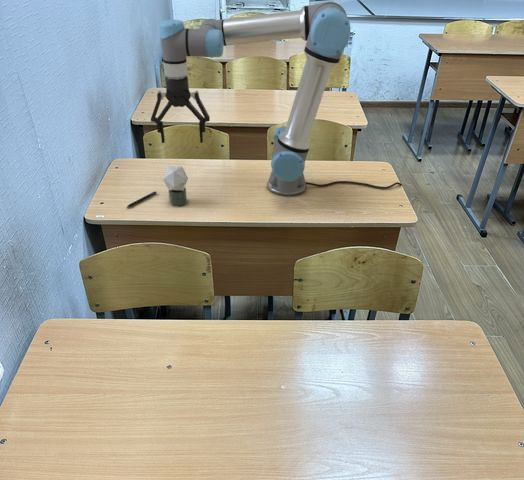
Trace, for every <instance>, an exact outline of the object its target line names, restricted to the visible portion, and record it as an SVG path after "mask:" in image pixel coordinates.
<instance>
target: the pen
mask: <svg viewBox="0 0 524 480" xmlns="http://www.w3.org/2000/svg"><path fill="white" fill-rule="evenodd" d="M156 194H157V191H152V192H150V193H148V194H147V195H145V196H142V197H141V198H139V199H137V200H135V201H133V202H131V203H129V204H128V205H127V206H126V208H132V207H133V206H136V205H138V204H140V203H142V202H143V201H145V200H146V199H148V198H151V197H152V196H154V195H156Z"/></svg>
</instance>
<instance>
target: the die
mask: <svg viewBox="0 0 524 480" xmlns="http://www.w3.org/2000/svg"><path fill="white" fill-rule="evenodd" d="M188 179H189V177H188V176H187V173H186V171H185V169H184V167H183V166H180V165H179V166H177V165H175V166H174V165H172V166H171V165H167V166H166V170H165V172H164V175H163V177H162V180H163V183H164V184H165V186H166V188H167V190H168V192H169V191H183V190H184V188H186V185H187V182H188Z"/></svg>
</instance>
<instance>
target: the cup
mask: <svg viewBox="0 0 524 480" xmlns="http://www.w3.org/2000/svg"><path fill="white" fill-rule="evenodd" d="M187 195H188V194H187V188H186V187H185V188H184V190H183V191H169V190H168V197H169V198H168V199H169V203H170V204H171V205H172V206H173V207H183V206H185V205H186V204H187V202H188V196H187Z"/></svg>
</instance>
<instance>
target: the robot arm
mask: <svg viewBox="0 0 524 480" xmlns="http://www.w3.org/2000/svg"><path fill="white" fill-rule="evenodd" d="M159 34H160V38H159V39H160V46H161V52H162V53H161V54H162V63H163V72H164V76H165V78H164V82H165V92H163V91H161V90H158V91H157V94H156V99H157V100H156V102H155V106H154V107H153V112H152V114H151V117H150V122H151V123H155V124H156V132H157V133H159V134H160V138H161V144H165V142H166V139H165V130H164V121H162V120H163V118H164V117H165V116H166V114H167V113H168V111H169V110H170V109H171V107H174V108H178V107H179V108H184V107H186V108H187V109H188V110H189V111H190V112H191V113H192V115H194V116H195V118H196V119H198V129H199V139H200V140H199V143H200V144H203V143H204V137H203V133H205V132H206V123H207V122H210V119H211V117H210V115H209V113H208V111H207V109H206V107H205V105H204V103H203V102H202V100H201V98H200V94H199V91H198V90H195V91H194V92H193V91H192V92H190V87H189V77H188V62H187V61H188V59H187V57H196V58H197V57H199V58H212V59H213V58H220V57H222V56H223V55H224V47H227V46H235V45H236V46H237V45H244V44H245V45H246V44H254V43H263V42H264V43H265V42H274V41H282V40H292V39H293V40H294V39H302V40H303V41H304V42H305V46H304V48H303V53H304V55H305V57H306V59H305V62H304V66H303V69H302V73H301V75H300V76H301V77H300V79H299V83H298V85H297V90H296V92H295V96H294V99H293V102H292V105H291V109H290V112H289V115H288V120H287V123H286V125H285V126H281V127H280V126H279V127H277V128H275V129H274V132H273V149H272V157H271V162H270V167H271V172H270V175H269V177H268V180H267V190H269V191H270V192H271V193H273V194H275V195H278V196H285V197H286V196H287V197H288V196H289V197H291V196H298V195H301V194H302V193H304V192H305V191H306V186H307V185H309V186H314V187H319V188H320V187H328V186H331V185H335V184H352V185H360V186H366V187H370V188H374V189H380V190H387V189H390V188H393V187H395V186H397V185H398V186H400V187H403V184H402V182H399V181H397V182H394V183H392V184H390V185H387V186H380V185H374V184H371V183H366V182H358V181H353V180H351V181H350V180H337V181H332V182H328V183H324V184H323V183H322V184H318V183H314V182H308V181H306V179H305V174H304V172H305V167H306V165H305V163H306V161H307V157H308V154H309V151H310V148H311V144H310V141H309V138H310V135H311V131H312V129H313V126H314V123H315V120H316V117H317V113H318V111H319V108H320V104H321V103H322V98H323V95H324V93H325V90H326V87H327V84H328V81H329V78H330V75H331V73H332V69H333V68H334V67H335V66H337V65H339V63H340V60H341V57H342V54H343V51H344V50H345V49H346V47H347V45H348V43H349V41H350V37H351V23H350V19H349V17H348V15H347V11H346V10H345V9H344V8H343V6H342V5H340V4H339V3H337V2H334V1H325V2H320V3H314V4H310V5H303V6H302V7H301V8H300V10H292V11H291V10H290V11H283V12H273V13H266V14H265V13H264V14H255V15H248V16H240V17H231V18H223V19H215V18H208V19H205V20H204V21H202V22H201V24H200V25H199V28H185V25H184V22H183V21H182V20H180V19H165V20H162V21H161V22H160V23H159ZM164 98H166V100H167V101H168V102H167V103H166V105H165V106H164V107H163V109H162V110H161V112H160V113H159V114H158V110H159V108H160V105H161V102H162V101H163V100H164ZM191 98H192V100H194V101H195V102H196V105H197V106H198V108H199V110H200V112H199V110H198V109H197V108H196V107H195V105H193V103H192V101H190V99H191ZM201 113H202V114H201ZM157 114H158V116H157ZM156 116H157V117H156Z"/></svg>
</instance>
